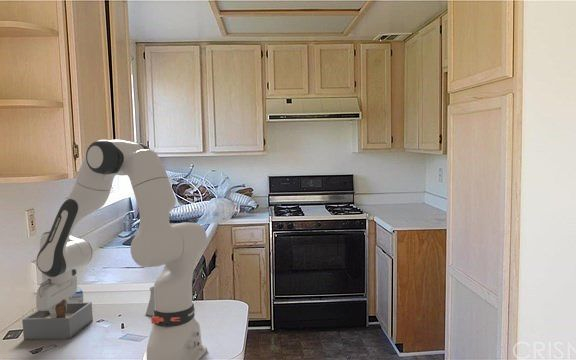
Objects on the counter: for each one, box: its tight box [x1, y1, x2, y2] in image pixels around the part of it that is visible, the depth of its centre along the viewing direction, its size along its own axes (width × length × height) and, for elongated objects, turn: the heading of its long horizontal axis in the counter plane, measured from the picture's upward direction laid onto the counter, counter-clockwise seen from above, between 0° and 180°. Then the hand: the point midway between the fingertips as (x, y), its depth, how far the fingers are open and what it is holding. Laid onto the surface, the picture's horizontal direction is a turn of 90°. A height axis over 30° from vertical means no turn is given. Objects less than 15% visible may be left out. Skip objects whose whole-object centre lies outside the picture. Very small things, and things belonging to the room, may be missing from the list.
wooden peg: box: [55, 299, 66, 318], centre depth 160 cm, size 4×4×10 cm
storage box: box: [21, 301, 94, 341], centre depth 160 cm, size 16×16×7 cm
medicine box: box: [68, 286, 85, 303], centre depth 179 cm, size 8×4×9 cm, turn 37°
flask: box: [145, 286, 155, 317], centre depth 174 cm, size 7×7×10 cm
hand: (58, 314), depth 160 cm, fingers open, 4 cm apart
